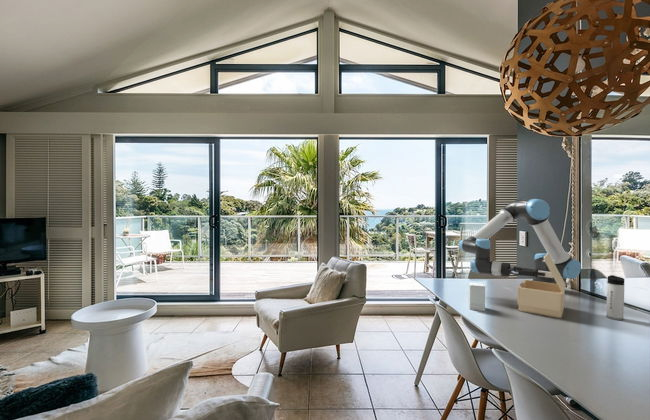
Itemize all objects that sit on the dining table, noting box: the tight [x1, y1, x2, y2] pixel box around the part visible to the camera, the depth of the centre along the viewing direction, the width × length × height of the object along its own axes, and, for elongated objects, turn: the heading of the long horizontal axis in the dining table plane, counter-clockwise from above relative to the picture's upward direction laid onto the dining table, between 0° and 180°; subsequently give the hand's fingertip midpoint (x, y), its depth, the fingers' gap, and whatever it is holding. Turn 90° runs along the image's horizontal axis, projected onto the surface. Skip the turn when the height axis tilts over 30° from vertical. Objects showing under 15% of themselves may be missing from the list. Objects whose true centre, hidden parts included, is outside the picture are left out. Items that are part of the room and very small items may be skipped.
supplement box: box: [468, 282, 486, 312], centre depth 177 cm, size 7×7×13 cm
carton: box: [516, 279, 566, 319], centre depth 177 cm, size 23×19×12 cm
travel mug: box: [605, 275, 625, 321], centre depth 164 cm, size 6×7×20 cm
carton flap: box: [543, 252, 567, 293], centre depth 173 cm, size 21×18×1 cm
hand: (553, 275), depth 172 cm, fingers closed
